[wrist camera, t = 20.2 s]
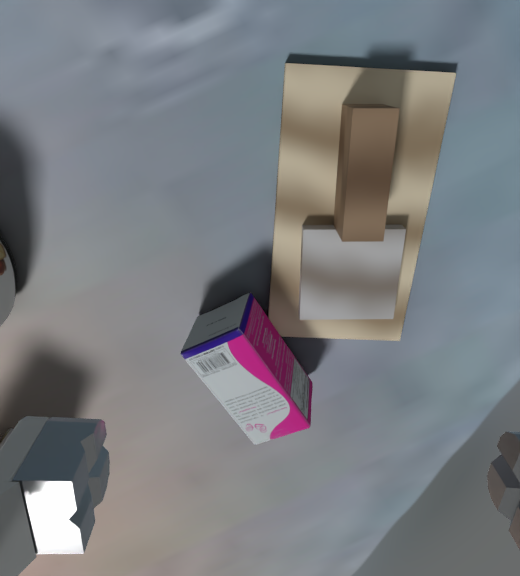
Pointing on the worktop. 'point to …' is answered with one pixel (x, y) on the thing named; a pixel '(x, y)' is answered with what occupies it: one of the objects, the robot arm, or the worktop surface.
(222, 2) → the worktop surface
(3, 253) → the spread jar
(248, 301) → the supplement box
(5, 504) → the robot arm
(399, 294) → the board
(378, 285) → the paddle
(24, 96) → the worktop surface
